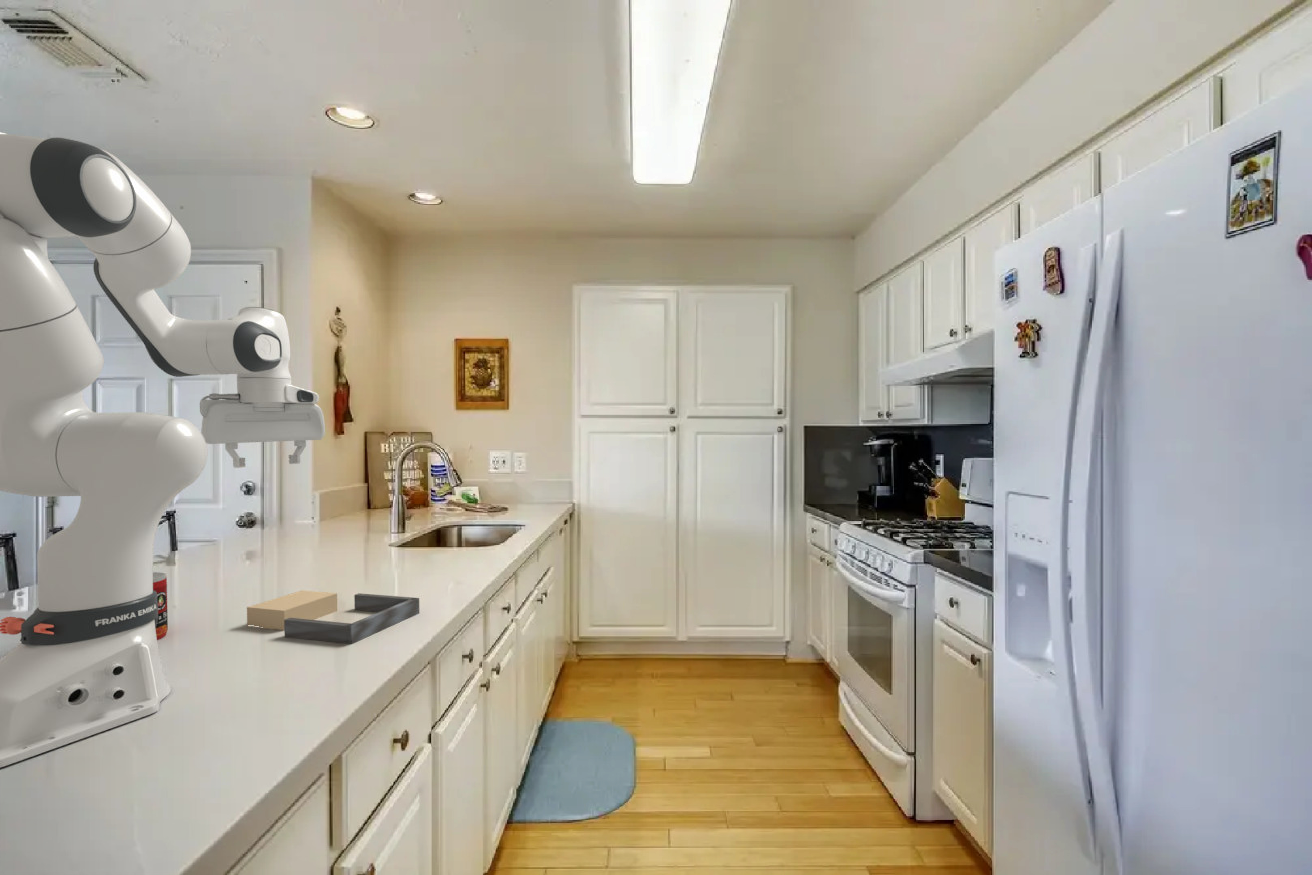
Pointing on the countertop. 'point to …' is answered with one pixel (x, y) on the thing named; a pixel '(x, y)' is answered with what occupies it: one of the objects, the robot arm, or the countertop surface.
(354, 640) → the dark grey piece
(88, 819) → the countertop surface
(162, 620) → the canned food
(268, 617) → the carton
